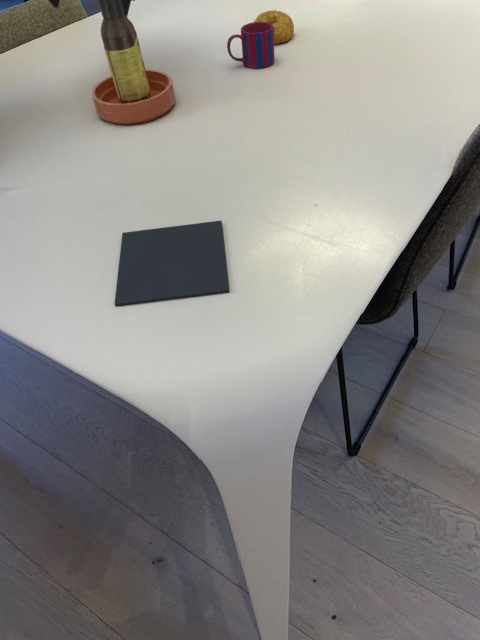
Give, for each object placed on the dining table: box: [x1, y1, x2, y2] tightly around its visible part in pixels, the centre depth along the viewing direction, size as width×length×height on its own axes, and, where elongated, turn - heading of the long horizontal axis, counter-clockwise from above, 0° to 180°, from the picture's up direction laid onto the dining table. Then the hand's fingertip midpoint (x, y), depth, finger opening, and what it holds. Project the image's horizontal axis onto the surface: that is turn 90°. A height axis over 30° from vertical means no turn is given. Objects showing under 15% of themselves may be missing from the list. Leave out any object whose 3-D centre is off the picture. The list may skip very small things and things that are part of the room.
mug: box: [226, 21, 275, 70], centre depth 103 cm, size 7×10×7 cm
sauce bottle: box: [98, 0, 151, 104], centre depth 88 cm, size 6×6×20 cm
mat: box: [114, 220, 230, 307], centre depth 64 cm, size 14×14×1 cm
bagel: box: [253, 9, 295, 45], centre depth 112 cm, size 10×11×5 cm
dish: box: [91, 69, 176, 125], centre depth 94 cm, size 15×15×4 cm
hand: (86, 9), depth 89 cm, fingers open, 13 cm apart
